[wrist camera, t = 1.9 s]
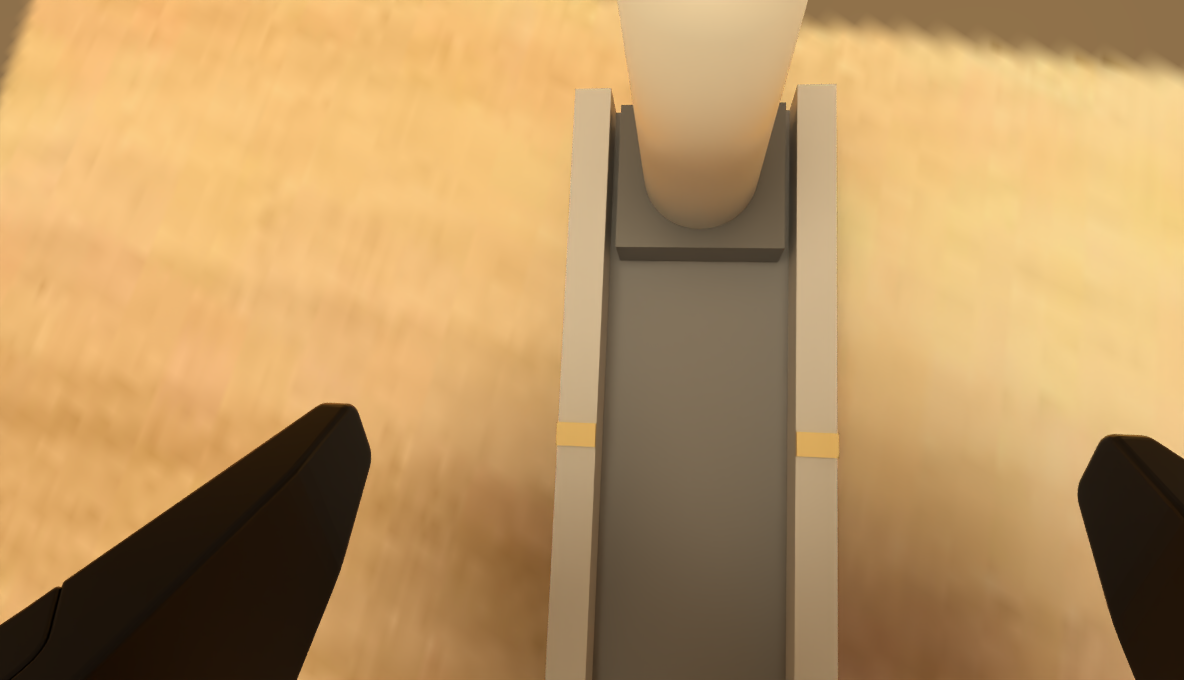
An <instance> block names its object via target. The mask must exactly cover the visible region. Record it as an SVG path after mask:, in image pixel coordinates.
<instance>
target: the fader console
mask: <svg viewBox="0 0 1184 680" xmlns="http://www.w3.org/2000/svg"><path fill="white" fill-rule="evenodd" d="M620 126H621V113H616V109H615V104H614V99H613V95H612V90H611V88H601V89H575V107H574V126H573V146H572V165H571V185H570V204H569V224H568V243H567V263H566V282H565V302H564V321H563V341H562V360H561V379H560V399H559V418H558V422H557V431H556V445H557V457H556V477H555V496H554V516H553V535H552V555H551V574H550V594H549V613H548V633H547V652H546V672H545V680H838V481H837V458H839V433H837V127H836V84H810V85H797V88H796V91H795V95H794V98H793V101H792V104H791V107H790V110H786V156H785V249H784V251H783V253H782V255H781V257H780V259H779V261H778V262H735V261H652V260H620V259H619V256H618V253H617V250H616V247H615V246H616V222H617V198H618V174H619V150H620Z"/></svg>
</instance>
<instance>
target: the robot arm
mask: <svg viewBox="0 0 1184 680" xmlns="http://www.w3.org/2000/svg"><path fill="white" fill-rule="evenodd" d="M370 463H371V450H370V446H369V443H368V440H367V437H366V434H365V431H364V428H363V425H362V422H361V419H360V416H359V413H358V411H357V409H356V408H355V407H354V406H353V405H351V404H344V403H323V404H320V405H319V406H317V407H315V408H314V409H312V410H311V411H309V412H308V413H307V414H305V415H304V416H302V417H301V418H299V419H298V420H296V421H295V422H294V423H292V424H291V425H289V426H288V427H286V428H285V429H283V430H282V431H281V432H279V433H278V434H276V435H275V436H273V437H272V438H270V439H269V440H268V441H266V442H265V443H263V444H262V445H260V446H259V447H257V448H256V449H255V450H253V451H252V452H250V453H249V454H247V455H246V456H244V457H243V458H242V459H240V460H239V461H237V462H236V463H234V464H233V465H231V466H230V467H229V468H227V469H226V470H224V471H223V472H221V473H220V474H219V475H217V476H216V477H214V478H213V479H211V480H210V481H208V482H207V483H206V484H204V485H203V486H201V487H200V488H198V489H197V490H195V491H194V492H193V493H191V494H190V495H188V496H187V497H185V498H184V499H182V500H181V501H180V502H178V503H177V504H175V505H174V506H172V507H171V508H169V509H168V510H167V511H165V512H164V513H162V514H161V515H159V516H158V517H156V518H155V519H154V520H152V521H151V522H149V523H148V524H146V525H145V526H143V527H142V528H141V529H139V530H138V531H136V532H135V533H133V534H132V535H130V536H129V537H128V538H126V539H125V540H123V541H122V542H120V543H119V544H117V545H116V546H115V547H113V548H112V549H110V550H109V551H107V552H106V553H104V554H103V555H102V556H100V557H99V558H97V559H96V560H94V561H93V562H91V563H90V564H89V565H87V566H86V567H84V568H83V569H81V570H80V571H78V572H77V573H76V574H74V575H73V576H71V577H70V578H68V579H67V580H65V581H64V582H63V585H62V587H55V588H54V589H52V590H51V591H49V592H48V593H46V594H45V595H44V596H42V597H41V598H39V599H38V600H36V601H35V602H33V603H32V604H31V605H29V606H28V607H26V608H25V609H23V610H22V611H20V612H19V613H17V614H16V615H14V616H13V617H11V618H10V619H8V620H7V621H5V622H4V623H2V624H1V625H0V680H297V678H298V675H299V673H300V671H301V668H302V666H303V663H304V661H305V658H306V656H307V653H308V651H309V648H310V646H311V643H312V641H313V638H314V636H315V633H316V631H317V628H318V626H319V623H320V621H321V618H322V616H323V613H324V611H325V609H326V606H327V604H328V601H329V599H330V596H331V594H332V591H333V589H334V586H335V583H336V581H337V578H338V575H339V573H340V570H341V567H342V564H343V560H344V557H345V554H346V550H347V547H348V543H349V540H350V536H351V533H352V529H353V525H354V522H355V518H356V515H357V511H358V507H359V504H360V500H361V497H362V493H363V490H364V486H365V482H366V479H367V475H368V472H369V468H370ZM1078 502H1079V507H1080V510H1081V514H1082V517H1083V521H1084V524H1085V528H1086V531H1087V535H1088V539H1089V542H1090V546H1091V549H1092V553H1093V556H1094V560H1095V563H1096V567H1097V570H1098V574H1099V578H1100V581H1101V585H1102V588H1103V592H1104V595H1105V599H1106V602H1107V606H1108V609H1109V612H1110V615H1111V618H1112V621H1113V625H1114V627H1115V630H1116V633H1117V635H1118V638H1119V640H1120V643H1121V646H1122V648H1123V651H1124V653H1125V655H1126V658H1127V660H1128V663H1129V665H1130V668H1131V670H1132V672H1133V675H1134V677H1135V680H1184V459H1183V458H1182V457H1180V456H1179V455H1177V454H1175V453H1174V452H1172V451H1171V450H1169V449H1168V448H1166V447H1165V446H1163V445H1162V444H1160V443H1159V442H1157V441H1156V440H1154V439H1152V438H1150V437H1147V436H1142V435H1122V434H1111V435H1107V436H1105V437H1104V438H1103V439H1102V440H1101V441H1100V442H1099V444H1098V446H1097V448H1096V450H1095V452H1094V454H1093V456H1092V458H1091V460H1090V462H1089V464H1088V466H1087V468H1086V470H1085V472H1084V474H1083V476H1082V478H1081V480H1080V482H1079V486H1078Z"/></svg>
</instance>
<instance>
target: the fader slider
mask: <svg viewBox="0 0 1184 680" xmlns="http://www.w3.org/2000/svg"><path fill="white" fill-rule="evenodd" d="M617 2H618V9H619V16H620V22H621V29H622V35H623V42H624V49H625V55H626V62H627V69H628V75H629V82H630V89H631V95H632V102H633V105H621V126H620V150H619V174H618V198H617V222H616V246H615V247H616V250H617V253H618V256H619V259H620V260H652V261H735V262H778V261H779V259H780V257H781V255H782V253H783V251H784V249H785V156H786V103H780V100H781V96H782V92H783V89H784V85H785V82H786V78H787V74H788V71H789V67H790V63H791V60H792V56H793V53H794V49H795V45H796V42H797V38H798V34H799V31H800V27H801V24H802V20H803V16H804V13H805V9H806V5H807V2H808V0H617Z"/></svg>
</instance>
